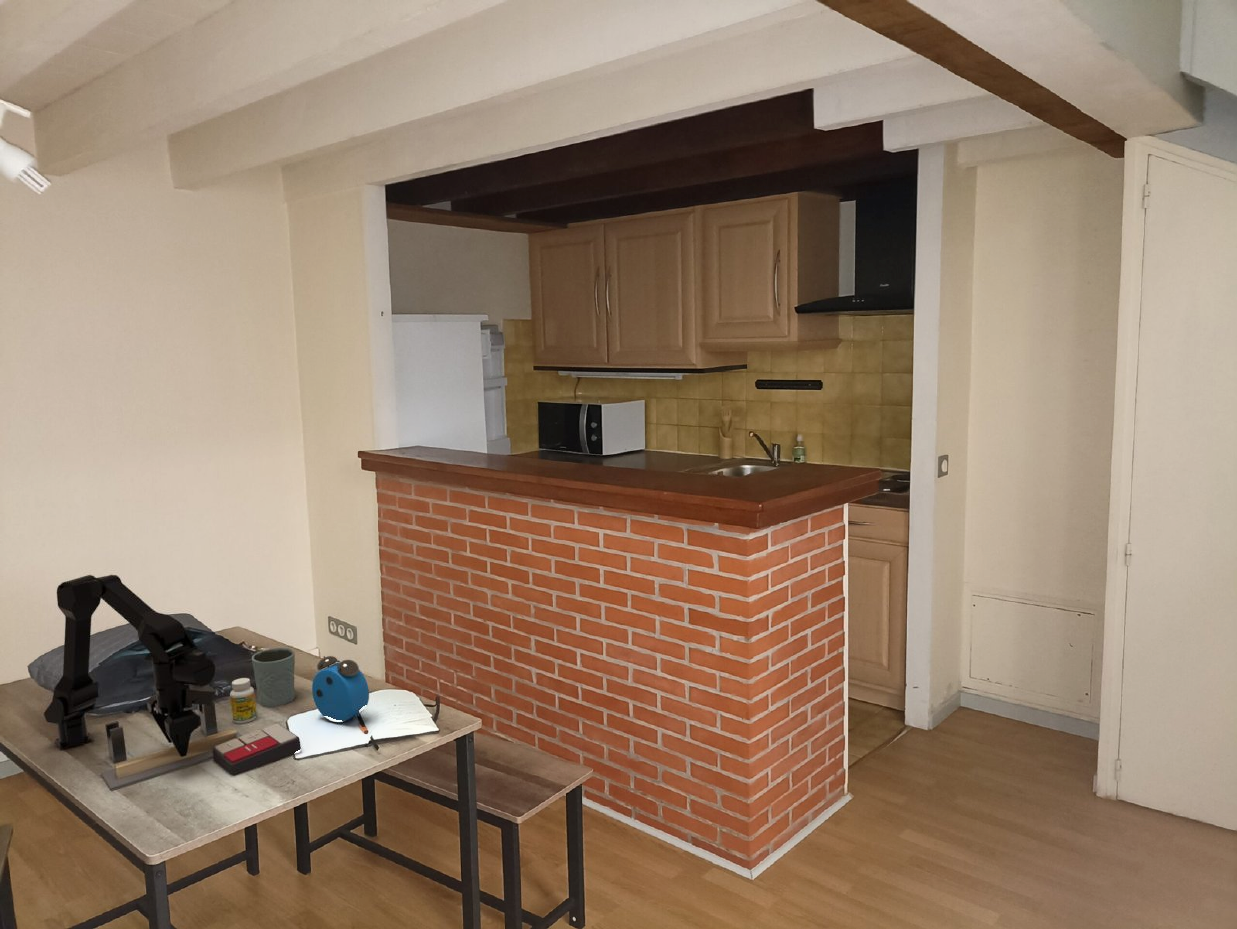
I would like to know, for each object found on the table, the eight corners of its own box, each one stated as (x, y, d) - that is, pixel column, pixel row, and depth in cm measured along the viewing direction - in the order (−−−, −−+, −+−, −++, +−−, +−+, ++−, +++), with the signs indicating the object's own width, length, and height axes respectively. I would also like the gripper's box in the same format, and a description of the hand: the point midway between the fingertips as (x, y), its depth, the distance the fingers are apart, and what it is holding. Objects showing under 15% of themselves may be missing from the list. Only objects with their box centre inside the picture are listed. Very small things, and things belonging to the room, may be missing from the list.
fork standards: (109, 756, 200) (105, 724, 199) (211, 726, 214) (207, 696, 213) (114, 764, 196) (110, 731, 195) (217, 733, 210) (214, 702, 209)
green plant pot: (269, 691, 234) (264, 647, 232) (306, 692, 232) (302, 647, 231) (248, 708, 224) (243, 661, 222) (286, 709, 223) (282, 662, 221)
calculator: (210, 745, 196) (278, 720, 206) (214, 764, 197) (281, 737, 207) (230, 761, 188) (299, 734, 198) (233, 781, 189) (302, 752, 199)
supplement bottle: (254, 712, 221) (250, 675, 220) (259, 720, 217) (255, 681, 215) (230, 718, 218) (226, 680, 217) (235, 726, 214) (231, 687, 212)
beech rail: (115, 775, 190) (114, 764, 190) (233, 739, 205) (232, 728, 205) (118, 779, 188) (116, 768, 188) (237, 742, 203) (236, 732, 203)
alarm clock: (372, 719, 215) (367, 658, 213) (352, 729, 209) (347, 667, 207) (332, 709, 221) (327, 650, 219) (312, 719, 216) (307, 658, 214)
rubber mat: (101, 775, 191) (101, 772, 191) (238, 734, 209) (237, 731, 209) (111, 790, 184) (110, 788, 184) (251, 746, 202) (251, 744, 202)
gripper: (222, 681, 192) (230, 751, 194) (196, 659, 206) (203, 724, 209) (166, 696, 185) (174, 768, 187) (142, 672, 199) (150, 740, 201)
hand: (177, 749), depth 196 cm, fingers open, 9 cm apart
